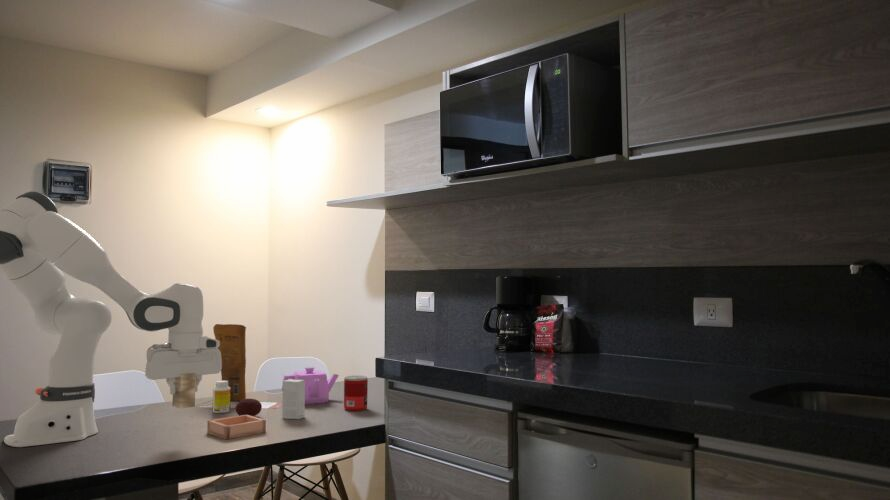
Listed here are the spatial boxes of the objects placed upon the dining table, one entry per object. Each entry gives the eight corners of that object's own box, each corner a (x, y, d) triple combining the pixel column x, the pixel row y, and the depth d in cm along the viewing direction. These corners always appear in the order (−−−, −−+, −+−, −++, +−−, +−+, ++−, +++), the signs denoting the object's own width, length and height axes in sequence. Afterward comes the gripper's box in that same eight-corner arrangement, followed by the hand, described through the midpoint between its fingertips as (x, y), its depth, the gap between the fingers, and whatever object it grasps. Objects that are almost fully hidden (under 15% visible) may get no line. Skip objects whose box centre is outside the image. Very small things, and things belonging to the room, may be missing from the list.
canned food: (369, 410, 221) (370, 378, 222) (346, 412, 218) (347, 379, 219) (364, 406, 228) (364, 375, 229) (341, 407, 225) (342, 376, 226)
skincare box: (305, 417, 210) (305, 379, 211) (298, 419, 206) (299, 381, 206) (288, 415, 212) (288, 379, 212) (281, 418, 207) (282, 380, 208)
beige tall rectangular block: (180, 408, 174) (181, 375, 175) (172, 406, 178) (173, 373, 178) (194, 406, 177) (195, 373, 178) (186, 404, 180) (187, 371, 181)
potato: (251, 420, 204) (252, 401, 205) (229, 418, 207) (230, 399, 207) (265, 416, 211) (265, 397, 212) (244, 414, 214) (244, 396, 214)
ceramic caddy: (225, 439, 180) (226, 426, 180) (207, 432, 187) (207, 420, 188) (265, 432, 189) (265, 420, 189) (246, 426, 196) (246, 414, 197)
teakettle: (301, 395, 249) (302, 363, 250) (340, 398, 244) (341, 365, 244) (276, 403, 233) (276, 369, 234) (317, 406, 228) (318, 371, 228)
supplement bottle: (232, 412, 217) (233, 381, 218) (216, 414, 214) (216, 383, 214) (226, 409, 221) (227, 379, 222) (210, 411, 218) (210, 381, 218)
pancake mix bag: (236, 403, 233) (237, 325, 234) (210, 396, 245) (211, 323, 247) (253, 400, 238) (254, 324, 239) (226, 394, 250) (227, 322, 252)
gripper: (152, 345, 169) (150, 399, 168) (225, 341, 183) (223, 390, 183) (142, 343, 173) (140, 396, 172) (214, 339, 188) (213, 387, 187)
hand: (183, 393), depth 178 cm, fingers closed on beige tall rectangular block, 4 cm apart
